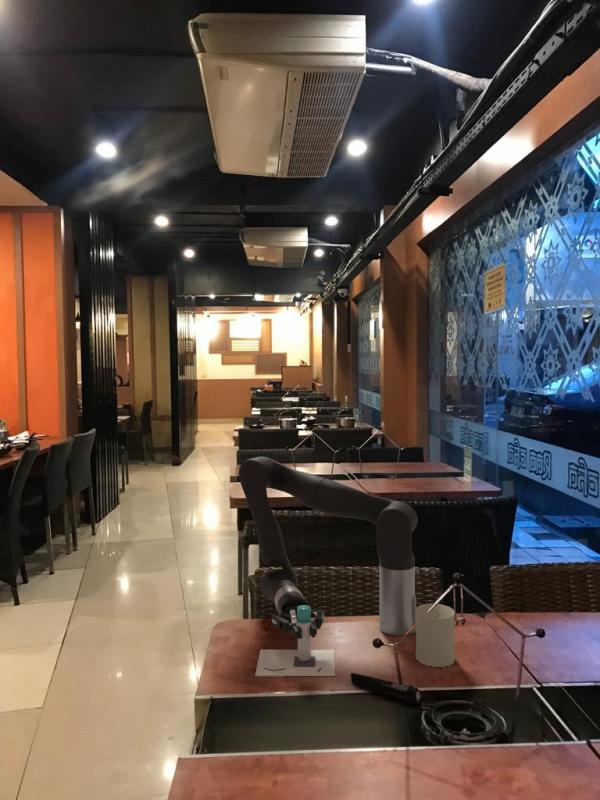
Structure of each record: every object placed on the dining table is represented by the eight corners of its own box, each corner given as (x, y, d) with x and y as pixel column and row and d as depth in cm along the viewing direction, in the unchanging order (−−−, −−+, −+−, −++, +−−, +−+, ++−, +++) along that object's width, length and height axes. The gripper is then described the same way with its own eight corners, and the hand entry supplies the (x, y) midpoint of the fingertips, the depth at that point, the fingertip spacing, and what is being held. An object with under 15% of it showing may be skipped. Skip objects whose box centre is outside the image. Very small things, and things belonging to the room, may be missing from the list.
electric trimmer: (354, 682, 134) (354, 668, 134) (422, 698, 127) (422, 683, 126) (348, 690, 131) (347, 675, 131) (417, 707, 123) (417, 692, 123)
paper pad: (333, 651, 147) (333, 649, 147) (335, 676, 135) (335, 674, 135) (260, 651, 148) (260, 649, 148) (255, 676, 136) (255, 674, 136)
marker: (311, 654, 143) (310, 605, 142) (311, 661, 140) (310, 610, 139) (297, 654, 143) (297, 605, 142) (297, 661, 140) (296, 610, 139)
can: (419, 668, 139) (419, 617, 138) (411, 649, 148) (412, 601, 147) (459, 667, 139) (459, 616, 138) (449, 648, 148) (449, 601, 147)
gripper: (264, 593, 153) (277, 621, 136) (317, 588, 156) (336, 615, 139) (264, 622, 154) (277, 653, 137) (317, 616, 157) (336, 646, 140)
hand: (307, 634), depth 138 cm, fingers closed on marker, 2 cm apart
